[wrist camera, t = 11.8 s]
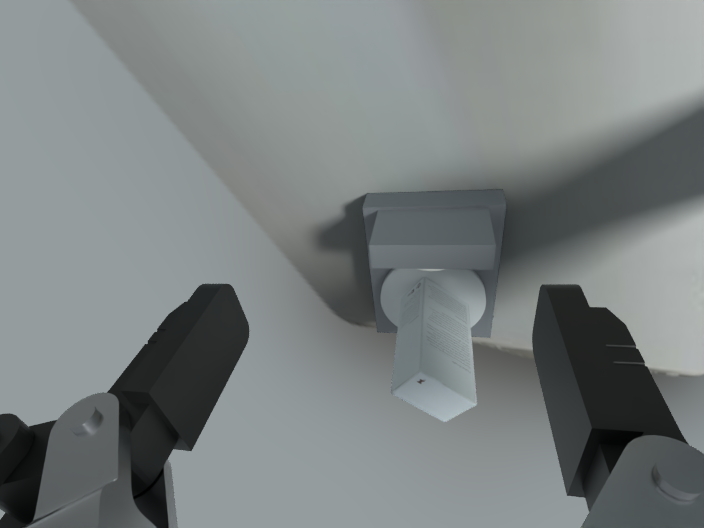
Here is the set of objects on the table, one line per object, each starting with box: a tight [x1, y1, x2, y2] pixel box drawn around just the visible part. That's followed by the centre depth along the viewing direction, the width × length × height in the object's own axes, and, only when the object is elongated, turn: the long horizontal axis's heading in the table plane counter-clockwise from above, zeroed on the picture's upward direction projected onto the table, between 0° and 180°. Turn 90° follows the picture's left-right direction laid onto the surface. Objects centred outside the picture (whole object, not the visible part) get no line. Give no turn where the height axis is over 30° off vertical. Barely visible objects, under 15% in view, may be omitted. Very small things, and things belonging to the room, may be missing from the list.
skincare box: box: [391, 277, 477, 422], centre depth 37 cm, size 6×4×12 cm
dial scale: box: [362, 189, 507, 338], centre depth 40 cm, size 13×17×9 cm
